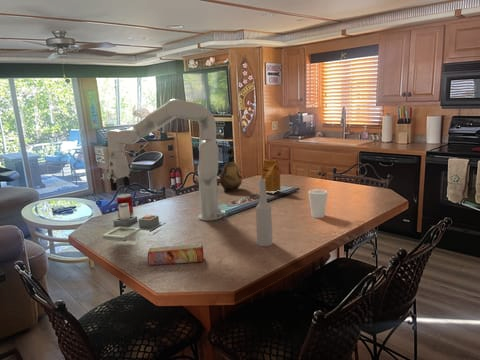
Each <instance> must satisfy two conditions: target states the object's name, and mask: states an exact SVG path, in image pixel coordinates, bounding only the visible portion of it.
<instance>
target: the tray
mask: <svg viewBox="0 0 480 360" xmlns="http://www.w3.org/2000/svg"><path fill="white" fill-rule="evenodd" d="M119 230H131V231H130V232H129V233H127V234H124V235H116V234H114V233H115V232H117V231H119ZM139 231H141V228H133V227H122V226H117V227H115V228H114V229H112V230H110V231H108V232H106V233H104V234H102V237H103V240H104V239H105V241H114V242H115V241H116V242H123V243H124V242H127V241H128V239H126V238H128V237H130V236H132V235H134V234H135V233H137V232H139Z"/></svg>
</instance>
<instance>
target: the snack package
mask: <svg viewBox="0 0 480 360" xmlns="http://www.w3.org/2000/svg"><path fill="white" fill-rule="evenodd" d="M147 260H148V261H147V263H148V265H149V266H156V265H170V264H171V265H172V264H173V265H174V264H187V263H189V264H190V263H202V262H203V261H204V247H203V244H202V243H200V242H199V243H191V244H190V243H189V244H179V245H169V246H159V247H149V249H148V251H147Z"/></svg>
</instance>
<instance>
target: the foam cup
mask: <svg viewBox="0 0 480 360" xmlns="http://www.w3.org/2000/svg"><path fill="white" fill-rule="evenodd" d="M308 198H309V205H310V211H311V217H312V218H317V219H320V218H321V219H322V218H324V217H325V214H326V207H327V206H326V205H327V198H328V191H327V190H325V189H317V188H316V189H311V190H308Z"/></svg>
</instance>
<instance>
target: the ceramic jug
mask: <svg viewBox="0 0 480 360" xmlns="http://www.w3.org/2000/svg"><path fill="white" fill-rule="evenodd" d="M234 153H235V151H234V147H233V146H230V147H229V148H228V150H226V154H227V155H228V159H227V162H226V163H225V165H224V166H223V168H222V170H221V171H220V177H219V183H220V186H221V187H222V188H223V189H224V192H227V191H232V192H237V191H238V190H239V188H240V186H241V185H242V183H243V175H242V172H241V169H239V166H238V165H237V164H236V162H235V161H234ZM236 190H237V191H236Z"/></svg>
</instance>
